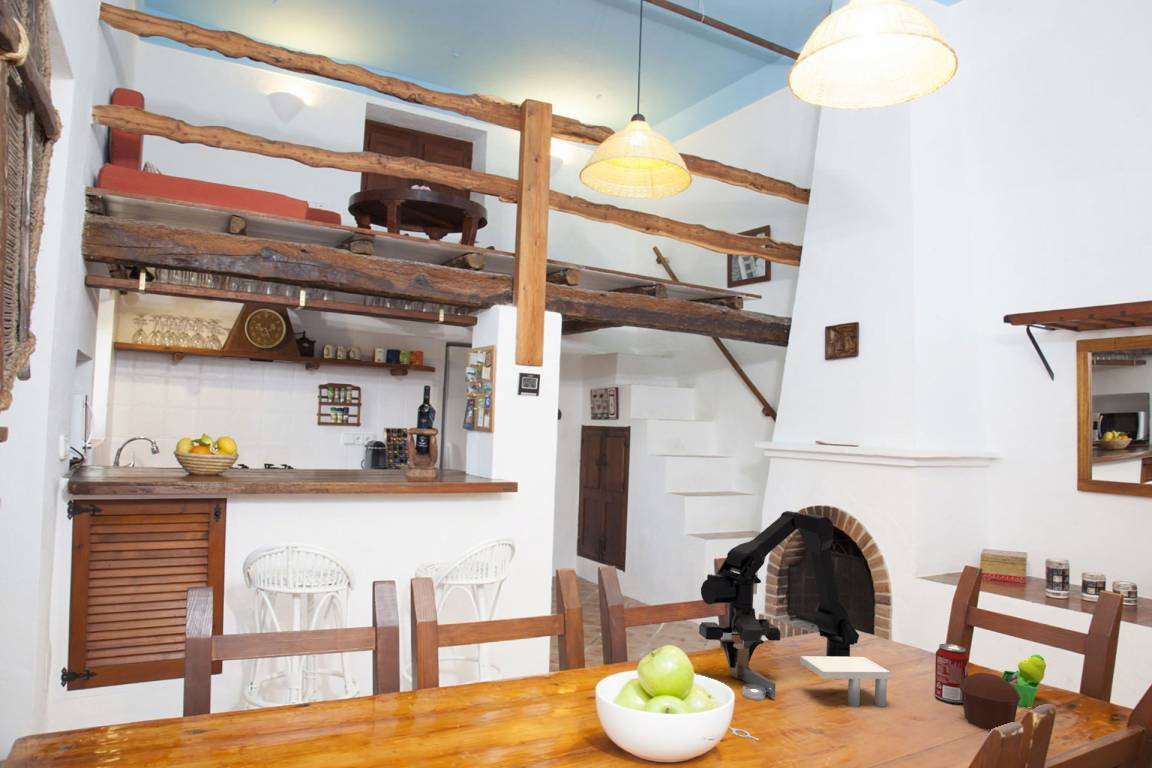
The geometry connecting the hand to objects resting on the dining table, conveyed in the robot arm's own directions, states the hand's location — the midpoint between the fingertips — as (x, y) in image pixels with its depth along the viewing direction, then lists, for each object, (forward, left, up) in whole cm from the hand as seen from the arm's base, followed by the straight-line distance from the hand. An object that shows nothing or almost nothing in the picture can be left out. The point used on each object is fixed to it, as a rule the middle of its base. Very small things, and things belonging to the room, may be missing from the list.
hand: (737, 667), depth 184 cm
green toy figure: (+16, +64, -3) cm, 66 cm away
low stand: (+13, +20, -2) cm, 24 cm away
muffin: (+29, +45, -2) cm, 53 cm away
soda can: (+15, +46, -2) cm, 48 cm away
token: (+12, -1, -2) cm, 13 cm away
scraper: (+7, +1, -2) cm, 7 cm away
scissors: (+27, -16, -3) cm, 32 cm away
